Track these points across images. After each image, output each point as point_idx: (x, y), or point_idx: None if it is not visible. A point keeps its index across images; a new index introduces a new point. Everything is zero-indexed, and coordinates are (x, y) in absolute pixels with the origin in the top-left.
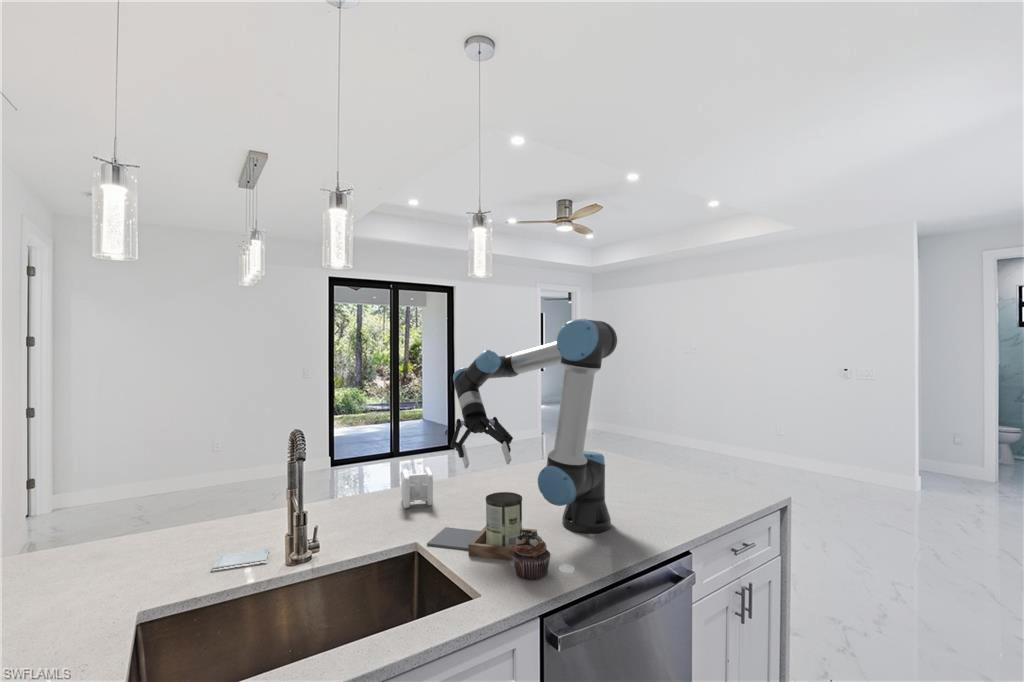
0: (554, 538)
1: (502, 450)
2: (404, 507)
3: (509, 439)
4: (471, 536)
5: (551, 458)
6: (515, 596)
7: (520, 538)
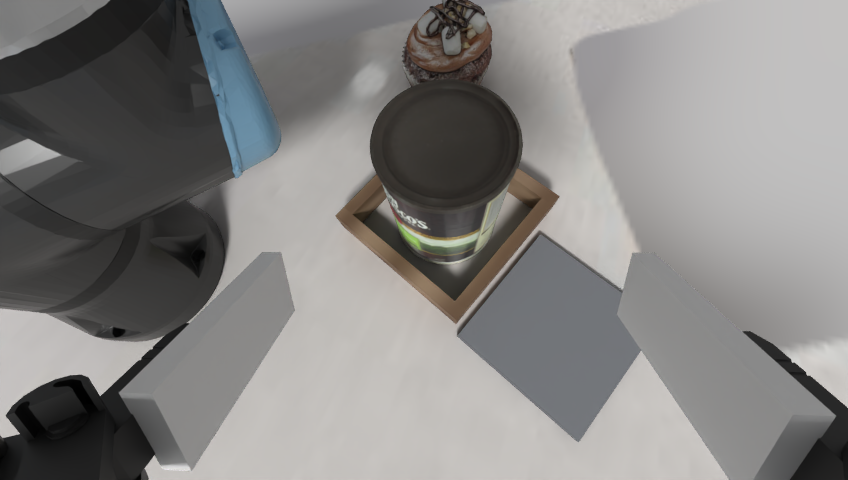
0: (296, 218)
1: (225, 414)
2: None
3: (1, 456)
4: (512, 313)
5: None
6: (511, 28)
7: (479, 8)
